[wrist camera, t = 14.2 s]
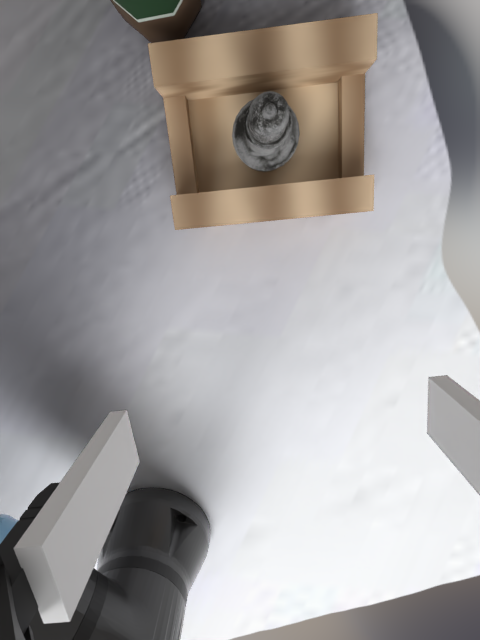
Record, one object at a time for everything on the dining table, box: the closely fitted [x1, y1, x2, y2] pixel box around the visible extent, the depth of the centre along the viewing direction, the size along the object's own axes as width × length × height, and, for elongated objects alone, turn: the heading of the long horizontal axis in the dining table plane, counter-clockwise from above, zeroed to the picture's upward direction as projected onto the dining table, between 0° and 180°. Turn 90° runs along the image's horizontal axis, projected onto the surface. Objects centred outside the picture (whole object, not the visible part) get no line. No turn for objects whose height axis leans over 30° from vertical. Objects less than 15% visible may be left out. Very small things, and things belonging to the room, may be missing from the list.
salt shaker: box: [232, 91, 300, 172], centre depth 28 cm, size 6×6×12 cm
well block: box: [148, 13, 378, 230], centre depth 32 cm, size 18×14×6 cm
